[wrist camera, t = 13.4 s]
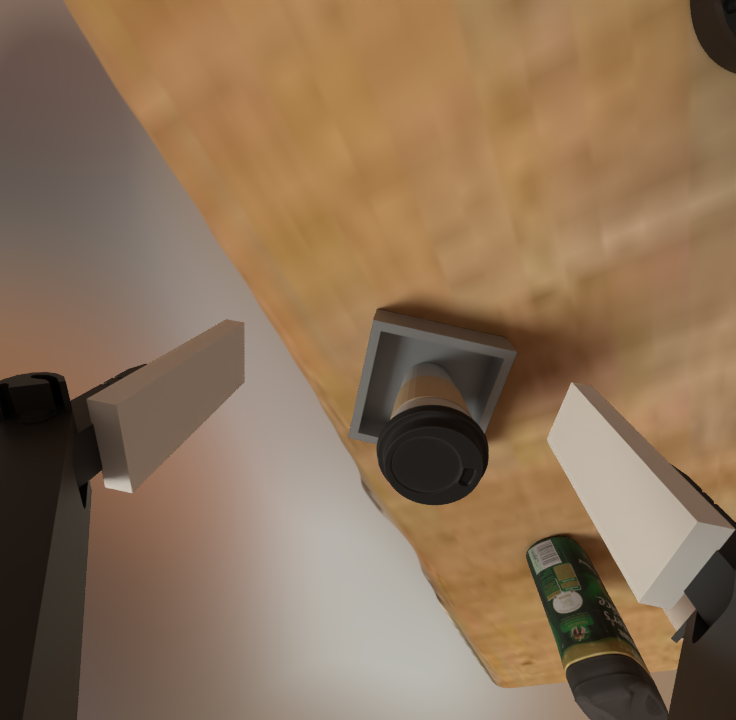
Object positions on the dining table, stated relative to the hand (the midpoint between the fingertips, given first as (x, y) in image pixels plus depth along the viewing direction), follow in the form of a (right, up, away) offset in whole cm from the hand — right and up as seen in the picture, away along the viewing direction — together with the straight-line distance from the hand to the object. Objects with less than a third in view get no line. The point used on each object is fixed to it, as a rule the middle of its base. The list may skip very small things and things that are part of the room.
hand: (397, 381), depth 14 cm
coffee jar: (+27, -28, +37) cm, 54 cm away
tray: (+6, -2, +29) cm, 29 cm away
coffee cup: (+6, -2, +28) cm, 29 cm away
